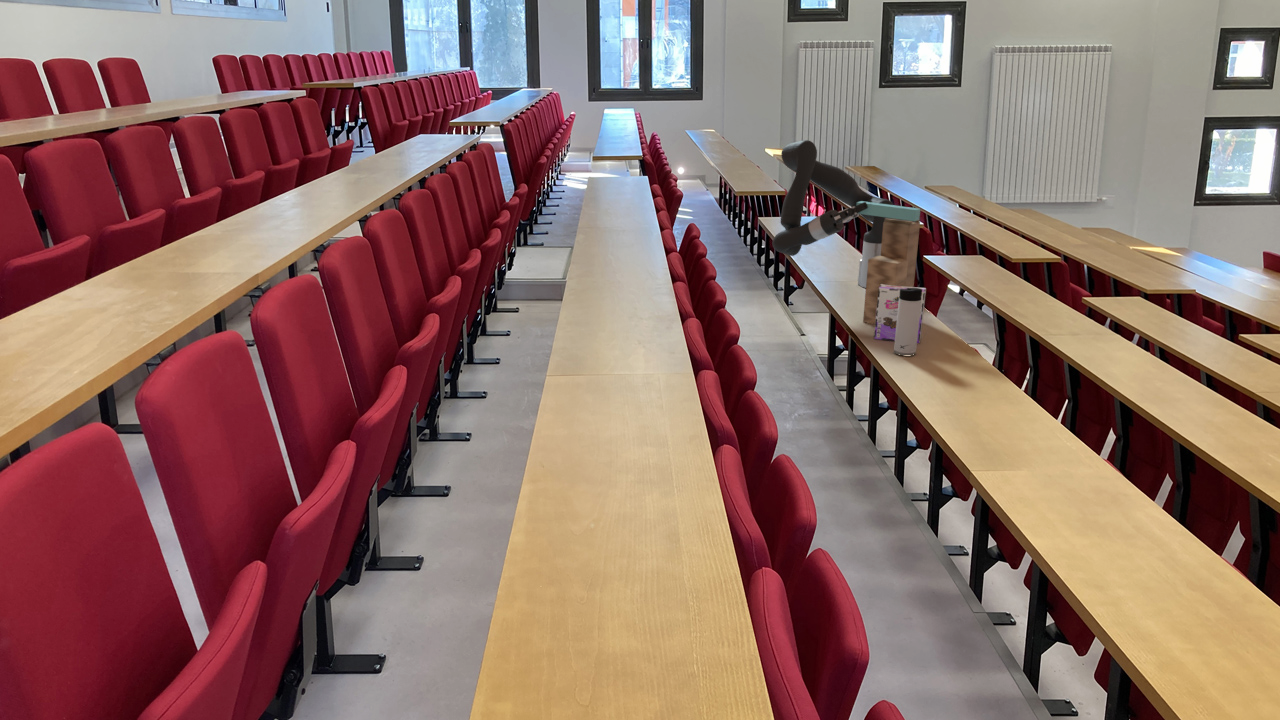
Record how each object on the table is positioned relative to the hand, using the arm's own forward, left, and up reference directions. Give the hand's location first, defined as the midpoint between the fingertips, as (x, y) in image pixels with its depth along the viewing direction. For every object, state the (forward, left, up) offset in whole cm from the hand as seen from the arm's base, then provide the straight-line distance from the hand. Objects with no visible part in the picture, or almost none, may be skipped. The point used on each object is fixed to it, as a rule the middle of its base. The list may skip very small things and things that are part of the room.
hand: (869, 204), depth 292 cm
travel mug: (+34, -19, -38) cm, 54 cm away
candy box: (+23, -9, -38) cm, 45 cm away
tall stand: (+6, +10, -38) cm, 40 cm away
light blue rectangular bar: (+6, +2, -3) cm, 7 cm away
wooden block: (+8, +2, -38) cm, 39 cm away
